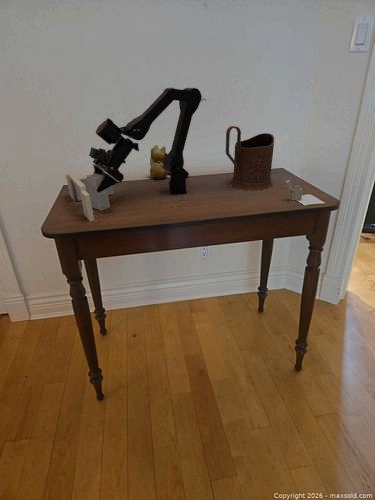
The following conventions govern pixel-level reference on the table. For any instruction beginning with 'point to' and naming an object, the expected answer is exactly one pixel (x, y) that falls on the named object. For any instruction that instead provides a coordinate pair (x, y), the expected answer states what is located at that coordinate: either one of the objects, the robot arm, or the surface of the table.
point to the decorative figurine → (157, 163)
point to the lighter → (294, 191)
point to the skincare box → (97, 199)
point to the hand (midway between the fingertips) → (94, 188)
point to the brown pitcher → (251, 161)
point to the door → (84, 181)
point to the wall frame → (84, 195)
